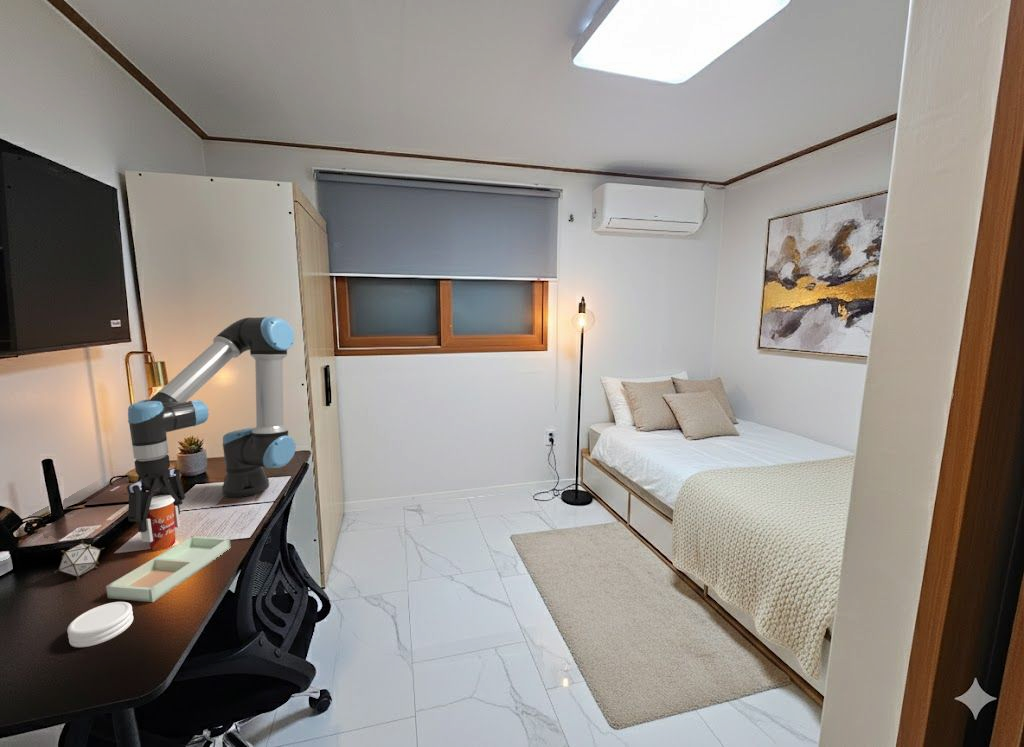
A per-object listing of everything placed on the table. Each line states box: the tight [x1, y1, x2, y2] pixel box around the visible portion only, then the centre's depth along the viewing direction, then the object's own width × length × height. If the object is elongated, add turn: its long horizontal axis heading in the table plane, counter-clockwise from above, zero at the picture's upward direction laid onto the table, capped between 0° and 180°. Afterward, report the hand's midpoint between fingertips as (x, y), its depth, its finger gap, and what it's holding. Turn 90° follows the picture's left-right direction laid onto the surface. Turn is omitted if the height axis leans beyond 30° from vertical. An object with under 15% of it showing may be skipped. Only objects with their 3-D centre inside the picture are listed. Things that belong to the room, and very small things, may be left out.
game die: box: [54, 539, 105, 581], centre depth 112 cm, size 9×8×10 cm
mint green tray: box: [105, 535, 232, 603], centre depth 113 cm, size 23×12×3 cm, turn 172°
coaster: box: [66, 601, 134, 648], centre depth 92 cm, size 10×10×4 cm
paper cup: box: [147, 494, 176, 551], centre depth 126 cm, size 8×8×14 cm
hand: (161, 533), depth 126 cm, fingers closed on paper cup, 8 cm apart
